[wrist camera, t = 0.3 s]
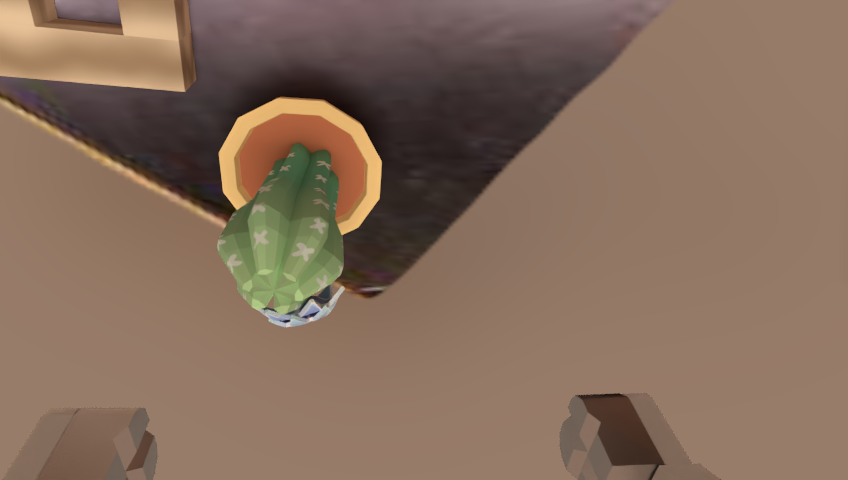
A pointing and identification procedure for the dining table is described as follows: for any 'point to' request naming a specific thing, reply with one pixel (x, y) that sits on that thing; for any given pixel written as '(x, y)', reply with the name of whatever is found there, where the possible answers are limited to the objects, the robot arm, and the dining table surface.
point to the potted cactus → (294, 203)
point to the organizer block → (100, 45)
